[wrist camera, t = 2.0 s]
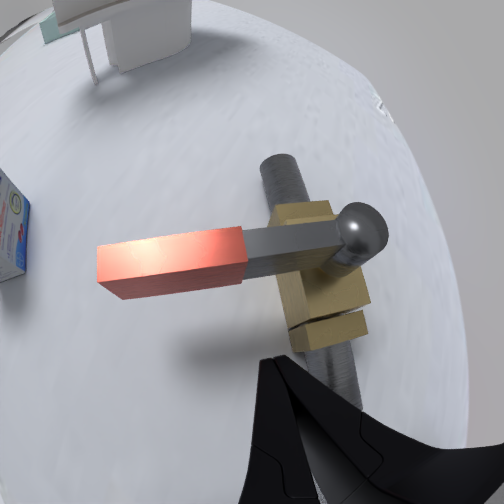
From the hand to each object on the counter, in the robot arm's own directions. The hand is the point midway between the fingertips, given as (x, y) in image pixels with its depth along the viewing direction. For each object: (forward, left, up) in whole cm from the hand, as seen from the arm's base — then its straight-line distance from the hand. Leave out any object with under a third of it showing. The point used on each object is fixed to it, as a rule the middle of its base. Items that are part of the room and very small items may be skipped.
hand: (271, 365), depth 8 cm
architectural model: (+32, +31, -11) cm, 45 cm away
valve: (+7, -2, -10) cm, 13 cm away
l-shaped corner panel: (+44, +72, -11) cm, 85 cm away
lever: (+4, +2, -4) cm, 6 cm away
